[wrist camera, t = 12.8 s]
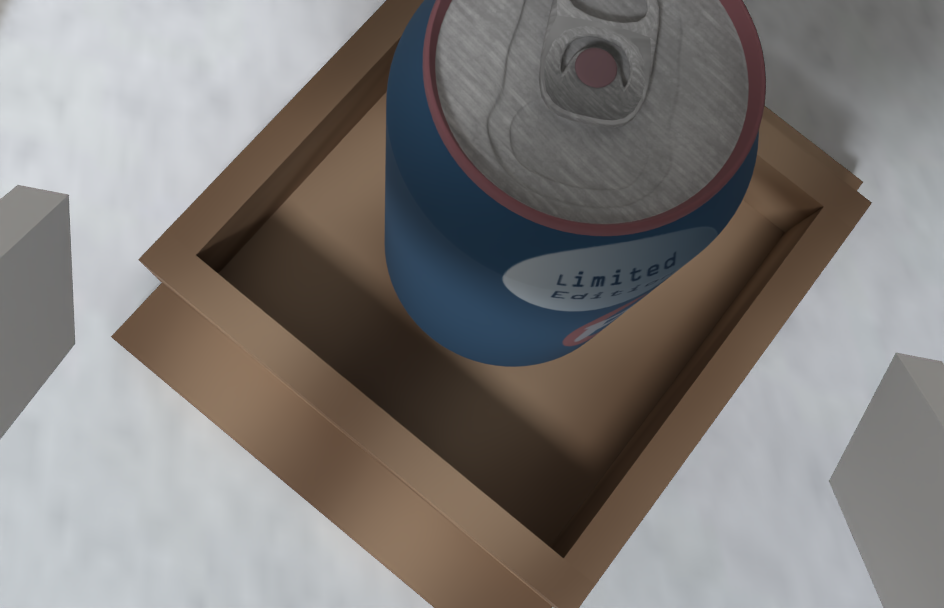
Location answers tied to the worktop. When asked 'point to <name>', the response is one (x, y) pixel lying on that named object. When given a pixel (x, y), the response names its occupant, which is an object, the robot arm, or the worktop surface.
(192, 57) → the worktop surface
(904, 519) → the robot arm
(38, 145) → the worktop surface
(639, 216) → the soda can
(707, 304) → the wooden tray
